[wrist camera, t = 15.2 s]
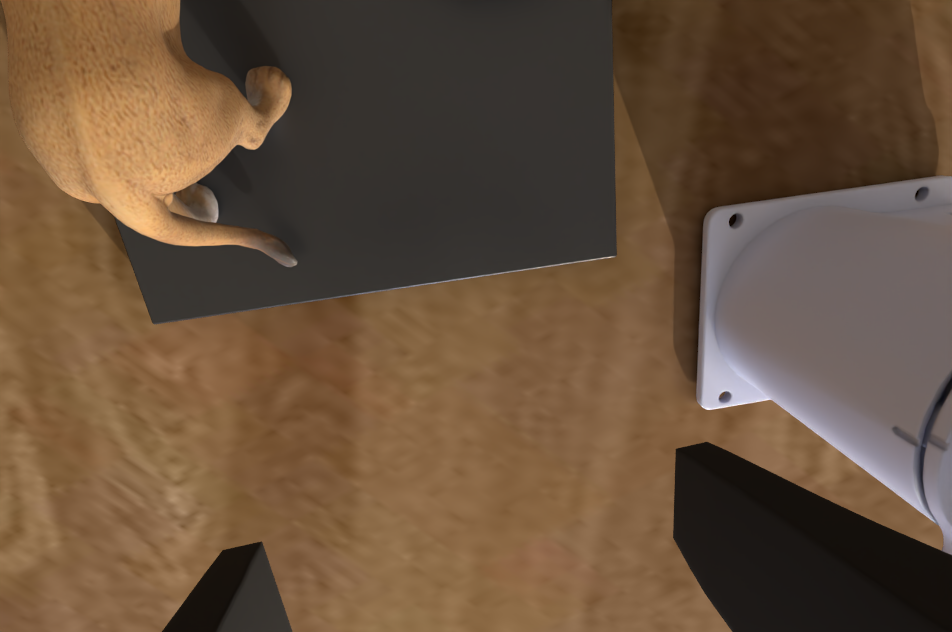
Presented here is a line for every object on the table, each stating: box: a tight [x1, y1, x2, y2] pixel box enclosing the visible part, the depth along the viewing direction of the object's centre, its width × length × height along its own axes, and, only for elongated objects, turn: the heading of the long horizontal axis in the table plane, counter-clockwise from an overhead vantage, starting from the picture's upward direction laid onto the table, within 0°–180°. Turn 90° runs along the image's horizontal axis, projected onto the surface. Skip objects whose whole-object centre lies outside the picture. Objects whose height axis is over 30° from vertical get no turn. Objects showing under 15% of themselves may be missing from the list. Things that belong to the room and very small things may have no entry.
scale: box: [114, 0, 617, 324], centre depth 14 cm, size 15×14×3 cm
